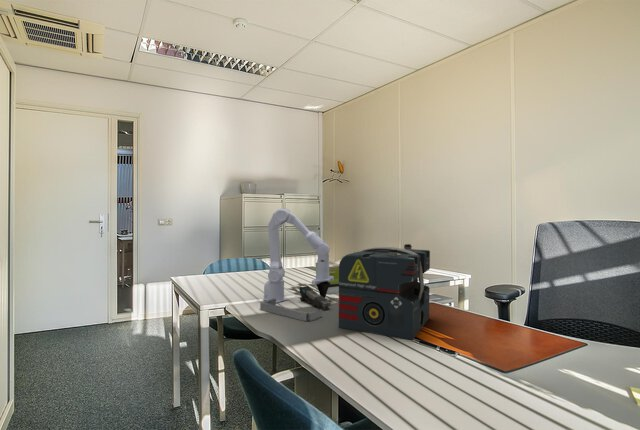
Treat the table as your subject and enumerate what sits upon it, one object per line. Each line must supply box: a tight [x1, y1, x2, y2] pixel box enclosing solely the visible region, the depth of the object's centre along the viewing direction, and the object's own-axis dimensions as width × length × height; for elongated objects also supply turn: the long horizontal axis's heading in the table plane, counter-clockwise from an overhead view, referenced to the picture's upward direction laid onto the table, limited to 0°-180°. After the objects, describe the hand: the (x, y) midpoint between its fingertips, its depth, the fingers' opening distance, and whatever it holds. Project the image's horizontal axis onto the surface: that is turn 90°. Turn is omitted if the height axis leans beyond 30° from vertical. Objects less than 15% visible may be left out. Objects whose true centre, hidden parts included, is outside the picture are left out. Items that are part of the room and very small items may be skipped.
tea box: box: [315, 260, 340, 296], centre depth 194 cm, size 15×10×15 cm, turn 25°
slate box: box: [259, 299, 323, 322], centre depth 153 cm, size 28×9×3 cm, turn 52°
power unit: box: [338, 243, 431, 341], centre depth 140 cm, size 28×28×30 cm
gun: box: [298, 285, 332, 311], centre depth 166 cm, size 4×20×10 cm, turn 35°
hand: (323, 297), depth 171 cm, fingers closed
